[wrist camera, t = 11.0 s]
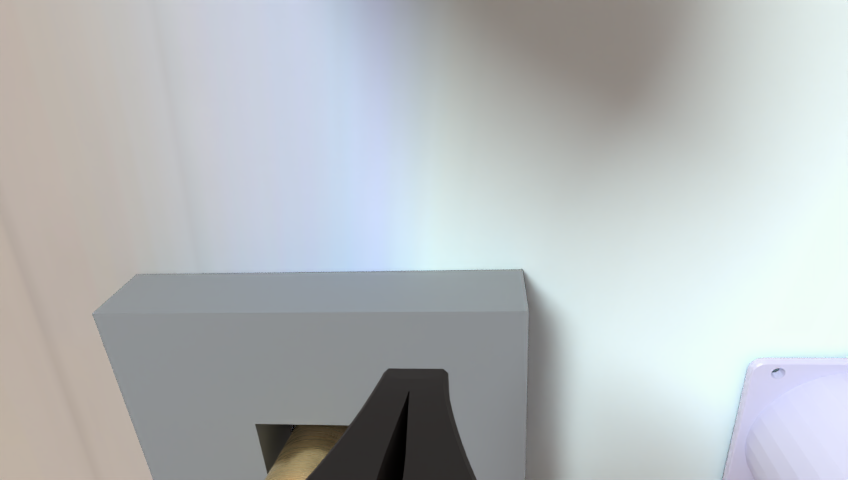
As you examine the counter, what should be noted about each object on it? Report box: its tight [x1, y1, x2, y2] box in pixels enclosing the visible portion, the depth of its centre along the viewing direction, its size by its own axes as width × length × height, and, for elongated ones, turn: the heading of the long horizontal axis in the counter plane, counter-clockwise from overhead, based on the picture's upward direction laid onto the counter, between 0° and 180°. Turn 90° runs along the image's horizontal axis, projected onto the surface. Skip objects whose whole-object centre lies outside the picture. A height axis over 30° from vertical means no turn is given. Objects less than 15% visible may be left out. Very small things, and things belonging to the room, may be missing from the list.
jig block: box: [92, 270, 529, 480], centre depth 25 cm, size 16×16×3 cm
